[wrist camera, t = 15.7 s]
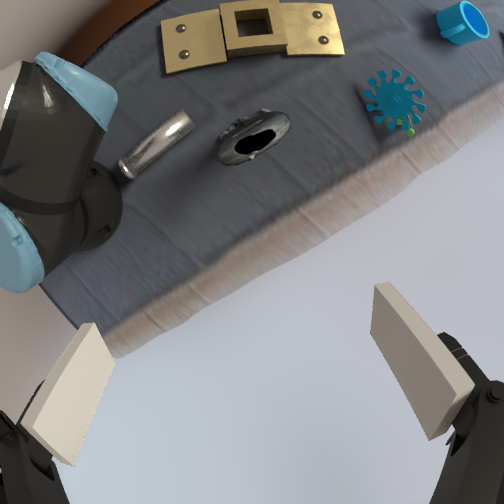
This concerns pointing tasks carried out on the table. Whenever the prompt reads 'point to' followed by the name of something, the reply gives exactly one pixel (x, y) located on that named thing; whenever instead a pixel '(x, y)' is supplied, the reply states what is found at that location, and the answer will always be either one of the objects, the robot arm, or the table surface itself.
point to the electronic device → (264, 136)
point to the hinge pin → (155, 144)
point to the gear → (395, 101)
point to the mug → (462, 23)
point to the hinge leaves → (279, 38)
